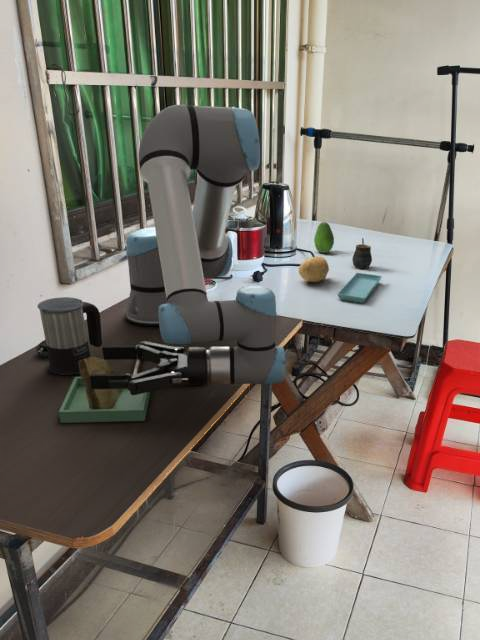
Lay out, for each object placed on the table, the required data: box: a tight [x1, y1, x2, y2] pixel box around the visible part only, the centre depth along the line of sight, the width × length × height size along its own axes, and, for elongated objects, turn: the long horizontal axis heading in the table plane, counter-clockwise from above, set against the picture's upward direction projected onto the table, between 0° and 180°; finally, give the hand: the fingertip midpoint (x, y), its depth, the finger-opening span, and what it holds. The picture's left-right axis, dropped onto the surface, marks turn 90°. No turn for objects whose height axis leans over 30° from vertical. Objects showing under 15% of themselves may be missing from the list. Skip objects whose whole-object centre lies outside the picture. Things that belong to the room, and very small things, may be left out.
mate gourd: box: [351, 237, 373, 270], centre depth 220 cm, size 7×8×10 cm
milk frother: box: [36, 296, 103, 376], centre depth 131 cm, size 14×16×15 cm
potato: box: [298, 255, 330, 283], centre depth 201 cm, size 10×14×8 cm
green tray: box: [58, 376, 152, 424], centre depth 118 cm, size 15×15×2 cm
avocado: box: [314, 221, 335, 254], centre depth 235 cm, size 8×8×12 cm
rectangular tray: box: [337, 272, 383, 304], centre depth 195 cm, size 26×9×2 cm, turn 163°
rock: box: [78, 356, 122, 410], centre depth 117 cm, size 11×9×10 cm
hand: (97, 366), depth 115 cm, fingers open, 13 cm apart
